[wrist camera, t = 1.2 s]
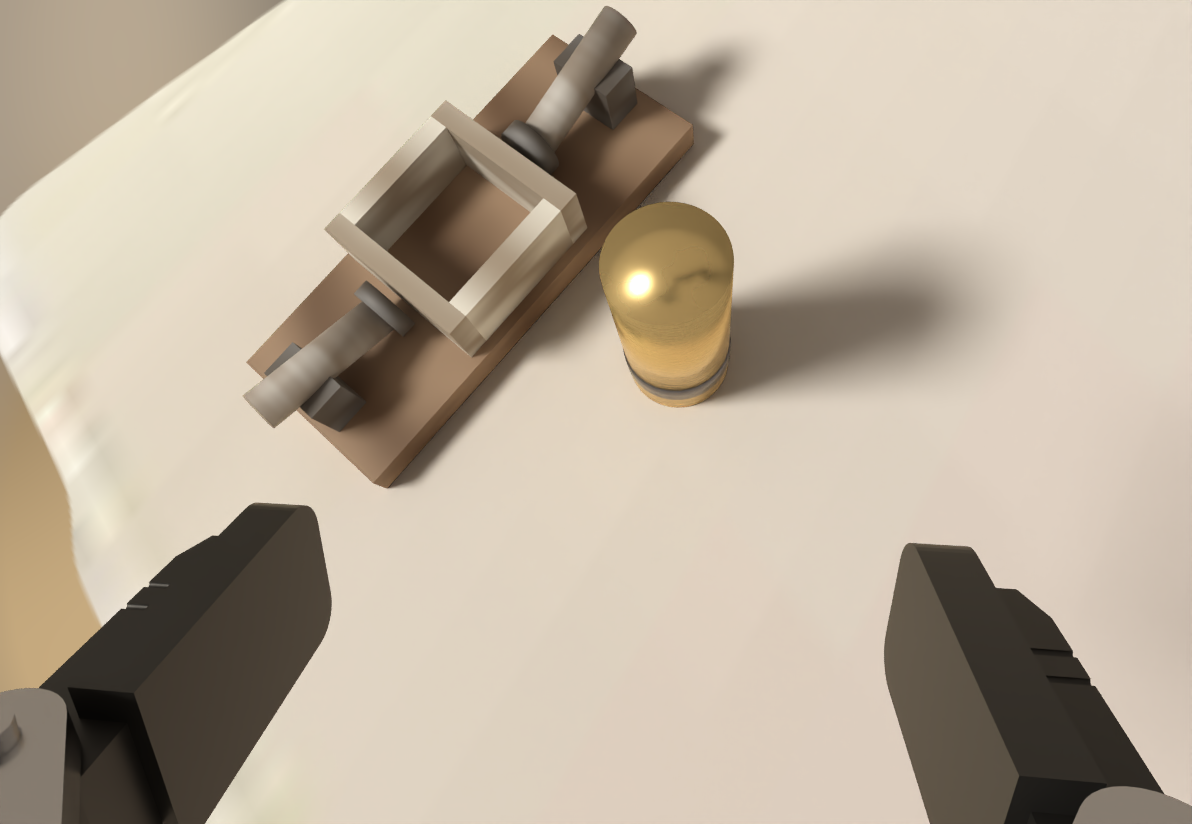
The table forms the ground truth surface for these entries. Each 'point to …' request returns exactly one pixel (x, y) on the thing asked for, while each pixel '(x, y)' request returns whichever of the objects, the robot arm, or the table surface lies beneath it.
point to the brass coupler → (671, 299)
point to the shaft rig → (466, 248)
